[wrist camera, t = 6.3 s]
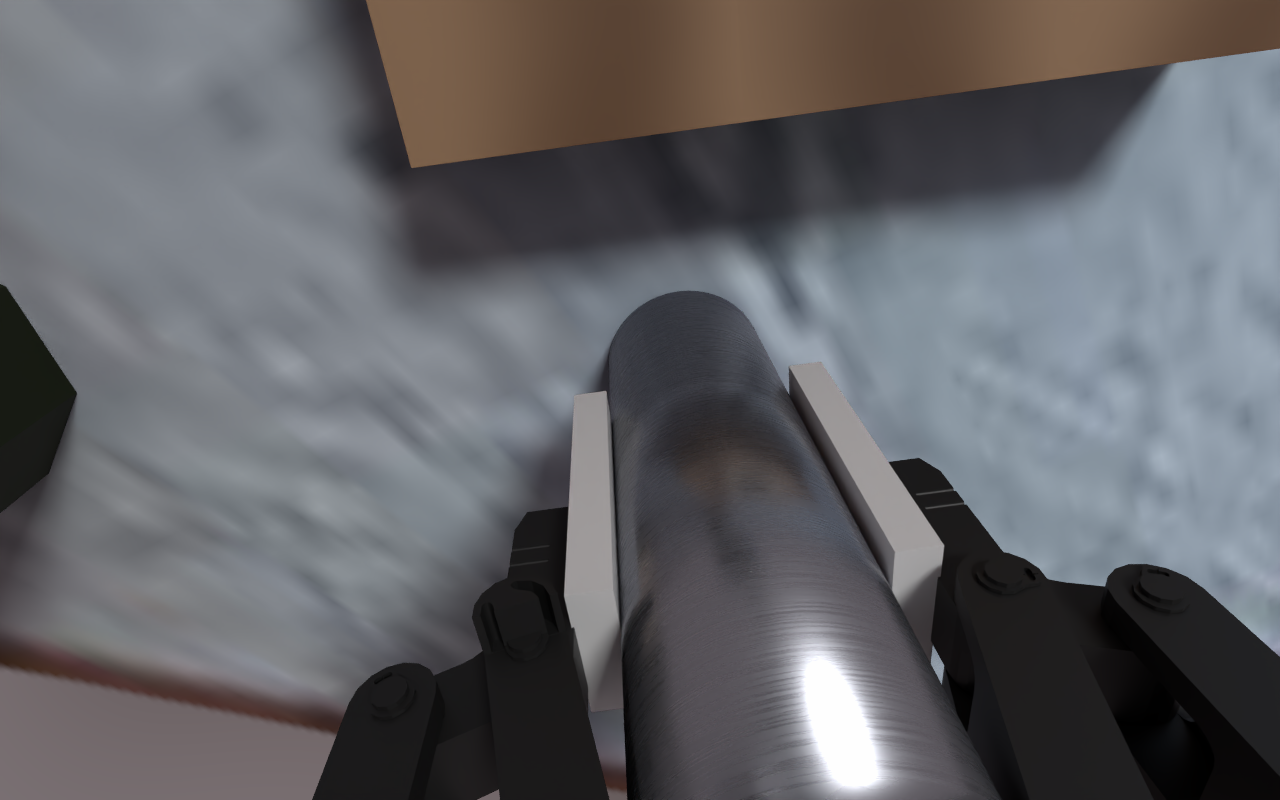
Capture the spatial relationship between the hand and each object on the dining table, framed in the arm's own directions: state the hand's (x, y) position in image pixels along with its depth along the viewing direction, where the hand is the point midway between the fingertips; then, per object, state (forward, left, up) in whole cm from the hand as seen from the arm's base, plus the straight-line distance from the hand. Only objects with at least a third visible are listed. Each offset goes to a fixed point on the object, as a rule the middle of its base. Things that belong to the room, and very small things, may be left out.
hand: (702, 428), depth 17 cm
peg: (0, 0, -4) cm, 4 cm away
